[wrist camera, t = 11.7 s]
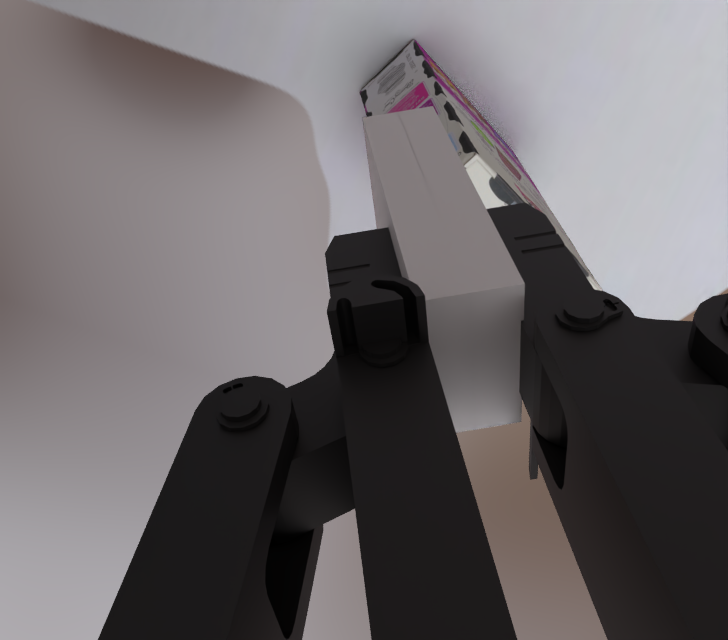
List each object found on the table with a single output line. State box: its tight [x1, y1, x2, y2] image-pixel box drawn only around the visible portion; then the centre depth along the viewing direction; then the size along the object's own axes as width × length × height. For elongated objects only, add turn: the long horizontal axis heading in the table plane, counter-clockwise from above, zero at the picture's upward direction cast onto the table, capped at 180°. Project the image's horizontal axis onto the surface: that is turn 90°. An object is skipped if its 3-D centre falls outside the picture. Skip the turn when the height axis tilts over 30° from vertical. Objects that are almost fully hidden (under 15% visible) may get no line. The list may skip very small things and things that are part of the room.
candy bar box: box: [360, 40, 603, 291], centre depth 39 cm, size 11×5×16 cm, turn 44°
